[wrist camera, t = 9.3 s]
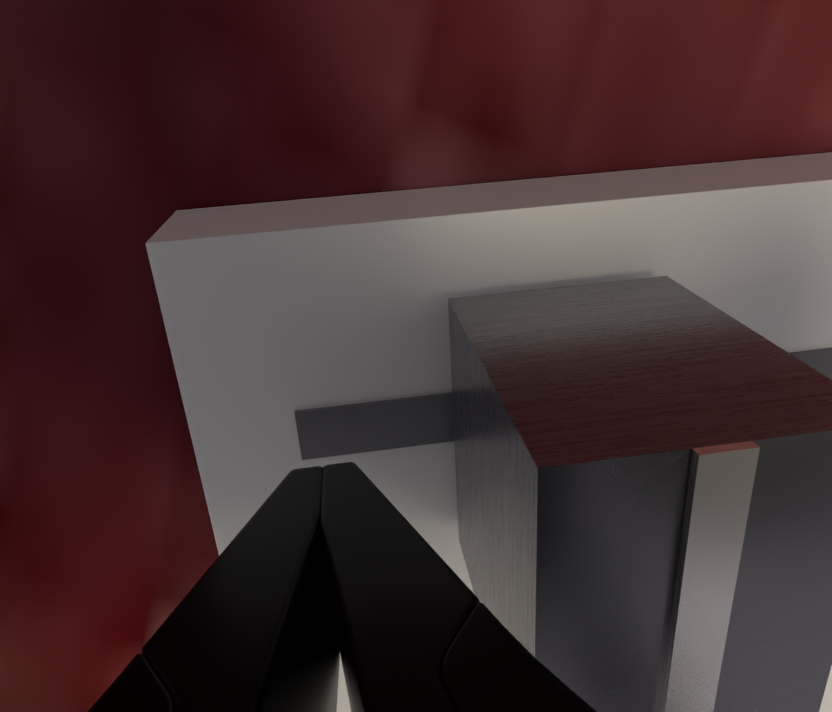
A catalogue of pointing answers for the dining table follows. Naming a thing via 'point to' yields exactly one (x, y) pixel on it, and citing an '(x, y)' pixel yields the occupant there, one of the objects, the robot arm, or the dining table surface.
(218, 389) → the slotted white panel
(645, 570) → the fader
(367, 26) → the dining table surface
